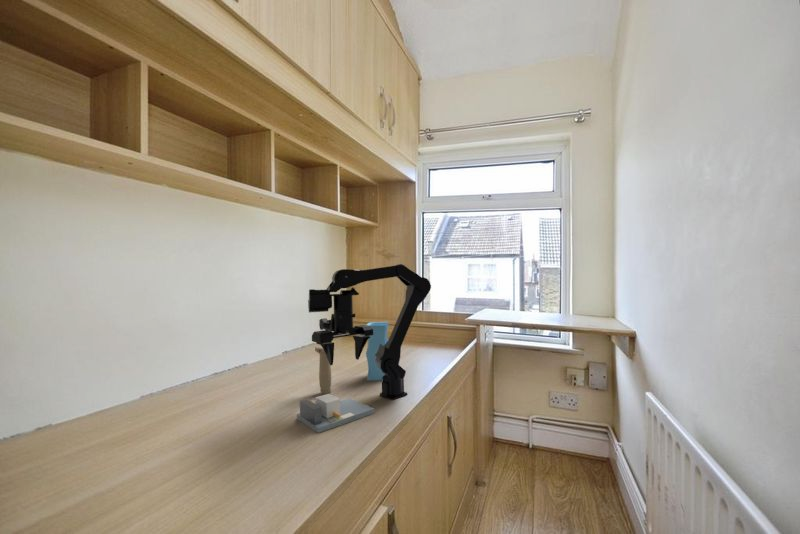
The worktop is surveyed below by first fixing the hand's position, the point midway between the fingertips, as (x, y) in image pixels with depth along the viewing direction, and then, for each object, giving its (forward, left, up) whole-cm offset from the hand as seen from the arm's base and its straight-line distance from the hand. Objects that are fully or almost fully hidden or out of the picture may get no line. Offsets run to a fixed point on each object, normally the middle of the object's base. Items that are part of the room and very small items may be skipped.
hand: (344, 362), depth 104 cm
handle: (0, -12, -12) cm, 17 cm away
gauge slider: (+10, +8, -11) cm, 17 cm away
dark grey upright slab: (+15, +7, -11) cm, 20 cm away
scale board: (+7, +7, -12) cm, 16 cm away
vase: (-23, -13, -12) cm, 29 cm away
